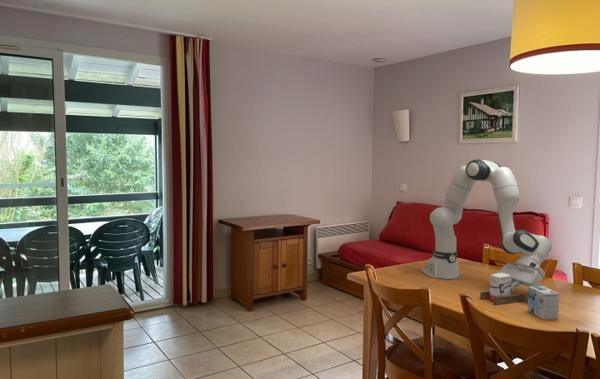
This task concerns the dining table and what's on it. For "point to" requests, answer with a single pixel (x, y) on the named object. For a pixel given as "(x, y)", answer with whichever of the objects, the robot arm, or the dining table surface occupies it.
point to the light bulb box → (543, 302)
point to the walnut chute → (503, 298)
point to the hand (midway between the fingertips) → (509, 288)
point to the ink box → (500, 285)
